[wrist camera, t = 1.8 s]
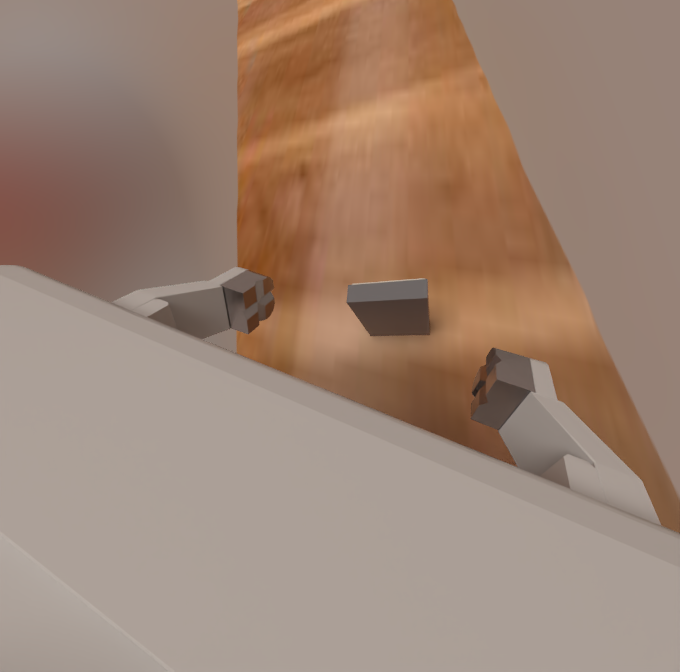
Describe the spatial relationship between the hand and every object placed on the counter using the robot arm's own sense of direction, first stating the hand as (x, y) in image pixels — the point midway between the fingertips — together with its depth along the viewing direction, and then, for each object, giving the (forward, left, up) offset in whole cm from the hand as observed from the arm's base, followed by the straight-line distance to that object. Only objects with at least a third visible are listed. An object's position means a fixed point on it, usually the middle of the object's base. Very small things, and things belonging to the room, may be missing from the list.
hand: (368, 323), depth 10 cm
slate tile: (+9, -1, -28) cm, 30 cm away
